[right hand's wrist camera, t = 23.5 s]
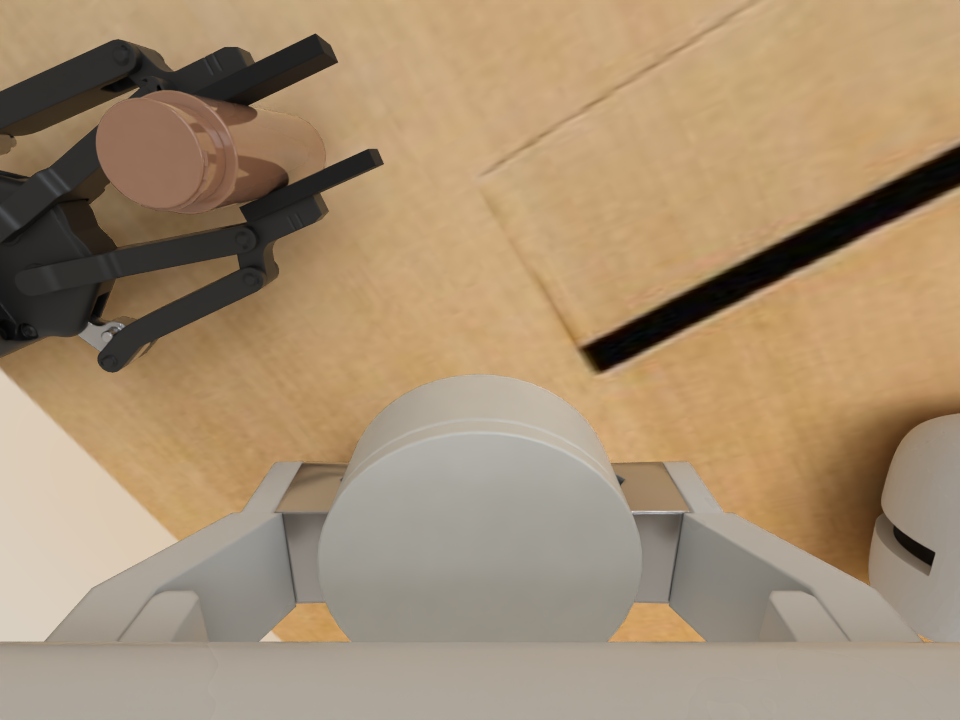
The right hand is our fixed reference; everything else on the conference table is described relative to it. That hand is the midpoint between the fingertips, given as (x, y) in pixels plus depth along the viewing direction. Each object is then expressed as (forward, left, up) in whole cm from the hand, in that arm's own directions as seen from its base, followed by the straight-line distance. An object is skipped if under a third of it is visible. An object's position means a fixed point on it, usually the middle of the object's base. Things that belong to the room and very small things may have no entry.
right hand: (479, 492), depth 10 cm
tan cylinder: (+12, 0, -25) cm, 28 cm away
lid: (0, 0, +2) cm, 2 cm away
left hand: (+9, -4, -19) cm, 21 cm away
